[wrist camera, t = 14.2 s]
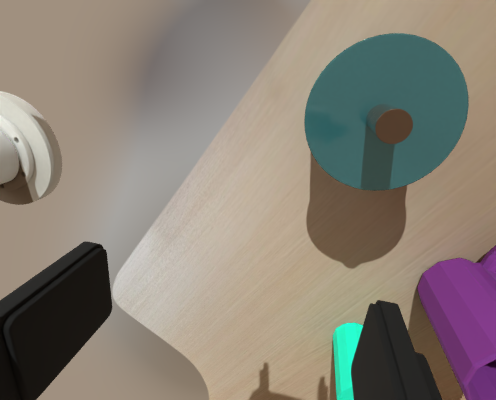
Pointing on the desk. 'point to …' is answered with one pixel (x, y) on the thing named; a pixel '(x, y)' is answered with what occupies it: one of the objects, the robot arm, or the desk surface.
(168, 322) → the desk surface
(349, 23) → the desk surface
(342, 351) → the candle
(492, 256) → the mug
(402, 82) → the lid
